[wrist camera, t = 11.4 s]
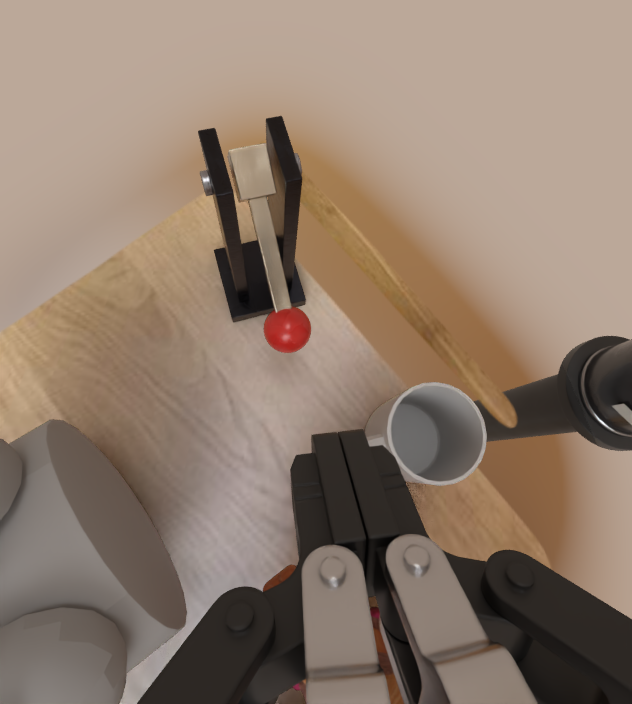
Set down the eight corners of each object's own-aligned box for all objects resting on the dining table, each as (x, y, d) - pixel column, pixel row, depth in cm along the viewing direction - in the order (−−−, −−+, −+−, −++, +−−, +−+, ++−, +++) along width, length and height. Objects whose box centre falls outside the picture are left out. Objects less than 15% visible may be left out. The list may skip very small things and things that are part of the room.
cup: (451, 470, 40) (500, 471, 31) (343, 497, 38) (363, 507, 30) (428, 392, 41) (468, 372, 33) (324, 415, 40) (337, 402, 31)
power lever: (309, 340, 32) (319, 351, 29) (267, 351, 32) (273, 363, 29) (268, 149, 28) (275, 139, 25) (219, 158, 28) (219, 150, 25)
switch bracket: (305, 304, 42) (325, 194, 25) (233, 322, 41) (203, 220, 24) (285, 239, 44) (292, 94, 27) (215, 255, 43) (175, 114, 26)
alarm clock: (16, 480, 36) (-352, 503, 15) (112, 419, 38) (-93, 361, 17) (119, 664, 34) (-145, 1003, 12) (217, 588, 35) (133, 771, 14)
